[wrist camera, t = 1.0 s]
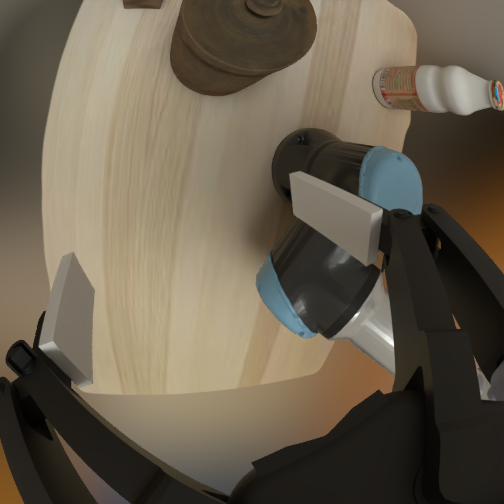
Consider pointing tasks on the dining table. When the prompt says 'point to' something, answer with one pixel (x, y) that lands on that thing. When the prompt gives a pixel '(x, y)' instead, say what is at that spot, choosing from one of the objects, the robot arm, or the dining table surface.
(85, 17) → the dining table surface
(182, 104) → the dining table surface
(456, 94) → the fruit juice
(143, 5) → the bench stop
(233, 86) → the wooden container
